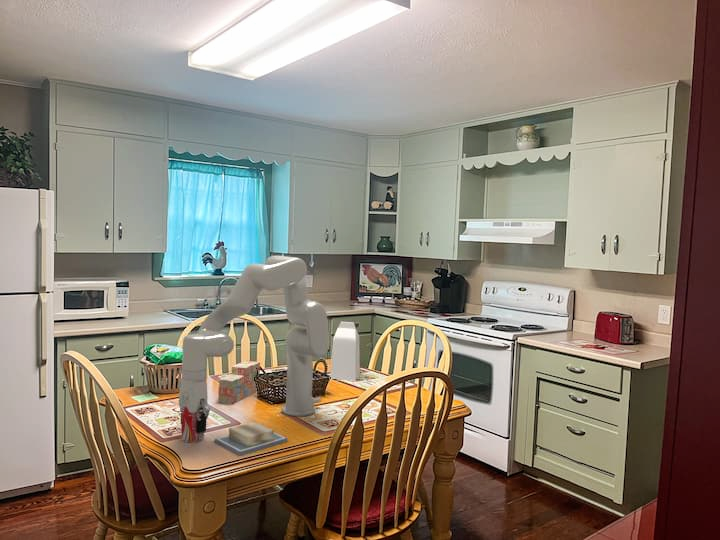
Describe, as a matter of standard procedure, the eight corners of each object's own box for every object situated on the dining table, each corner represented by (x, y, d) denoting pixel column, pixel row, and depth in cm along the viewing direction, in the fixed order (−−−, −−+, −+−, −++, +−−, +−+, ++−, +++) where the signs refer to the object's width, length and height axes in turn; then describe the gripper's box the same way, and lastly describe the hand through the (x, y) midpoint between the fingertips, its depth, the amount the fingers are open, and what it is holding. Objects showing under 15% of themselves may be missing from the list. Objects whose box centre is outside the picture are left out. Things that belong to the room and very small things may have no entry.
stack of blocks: (232, 405, 214) (233, 373, 213) (217, 402, 216) (218, 371, 215) (259, 390, 234) (260, 361, 233) (246, 388, 236) (247, 359, 235)
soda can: (183, 435, 180) (184, 398, 180) (206, 435, 181) (207, 399, 180) (178, 443, 173) (179, 405, 173) (202, 443, 174) (203, 405, 173)
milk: (329, 379, 256) (331, 323, 254) (334, 373, 267) (337, 319, 266) (355, 381, 254) (357, 325, 252) (359, 375, 265) (362, 321, 264)
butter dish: (261, 429, 189) (261, 417, 189) (287, 441, 179) (288, 429, 179) (214, 441, 176) (214, 429, 176) (239, 455, 166) (240, 442, 166)
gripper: (169, 370, 179) (168, 423, 180) (198, 382, 167) (196, 438, 168) (191, 367, 184) (189, 418, 186) (220, 378, 172) (218, 433, 174)
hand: (193, 427), depth 177 cm, fingers open, 9 cm apart
